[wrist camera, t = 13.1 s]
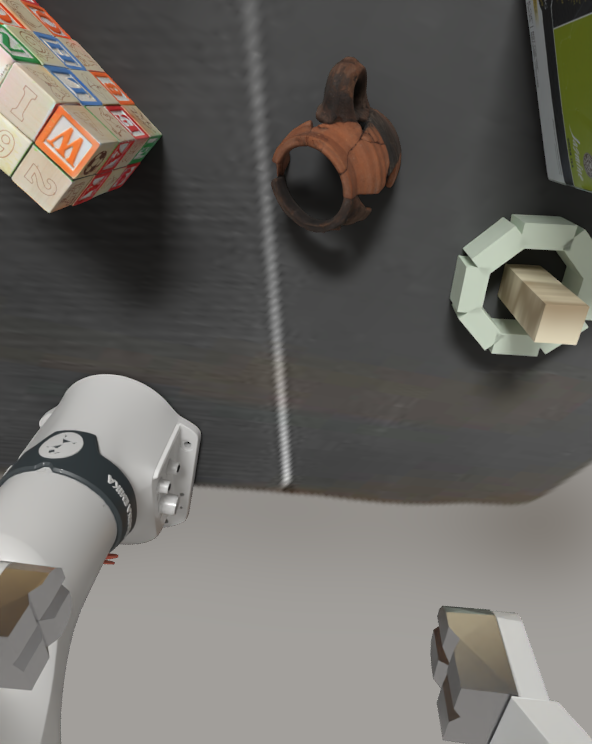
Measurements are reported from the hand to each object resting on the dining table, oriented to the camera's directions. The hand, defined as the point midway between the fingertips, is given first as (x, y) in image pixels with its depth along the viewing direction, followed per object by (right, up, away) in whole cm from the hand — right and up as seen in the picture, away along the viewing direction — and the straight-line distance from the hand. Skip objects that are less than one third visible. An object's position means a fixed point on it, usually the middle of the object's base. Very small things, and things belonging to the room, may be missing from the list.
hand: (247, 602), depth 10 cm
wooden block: (+21, +13, +33) cm, 41 cm away
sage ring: (+21, +13, +33) cm, 41 cm away
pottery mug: (+5, +24, +29) cm, 38 cm away
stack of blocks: (-19, +30, +28) cm, 46 cm away
